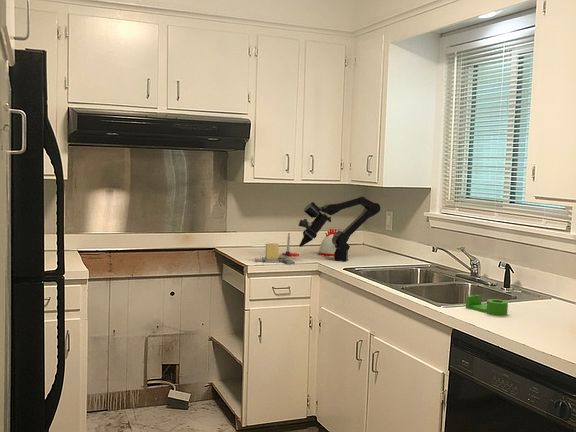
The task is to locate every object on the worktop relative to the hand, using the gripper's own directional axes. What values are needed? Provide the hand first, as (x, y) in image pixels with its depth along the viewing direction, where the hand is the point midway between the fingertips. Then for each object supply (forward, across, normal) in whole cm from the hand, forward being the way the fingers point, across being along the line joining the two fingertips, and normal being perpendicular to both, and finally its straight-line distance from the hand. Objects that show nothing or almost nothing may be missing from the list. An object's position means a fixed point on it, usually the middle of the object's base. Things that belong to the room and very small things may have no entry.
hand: (299, 246), depth 334 cm
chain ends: (+15, +5, -5) cm, 17 cm away
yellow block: (+15, +2, -7) cm, 17 cm away
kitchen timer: (-9, -27, +18) cm, 34 cm away
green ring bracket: (-16, +106, +64) cm, 125 cm away
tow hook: (+6, -21, +1) cm, 22 cm away
